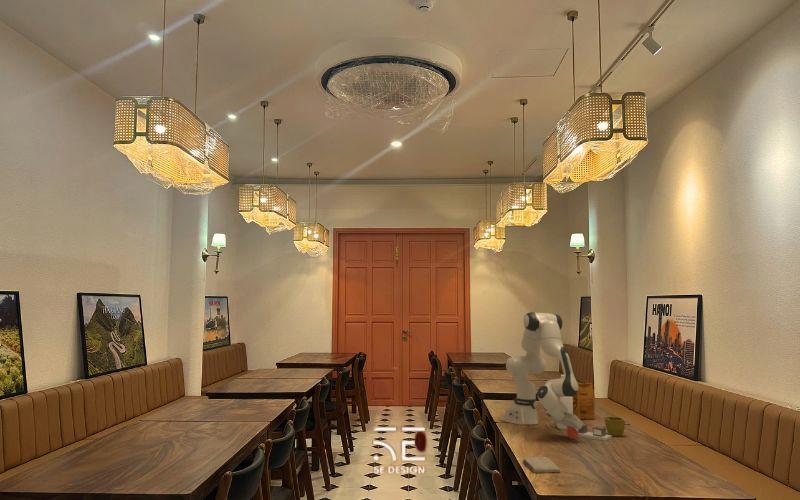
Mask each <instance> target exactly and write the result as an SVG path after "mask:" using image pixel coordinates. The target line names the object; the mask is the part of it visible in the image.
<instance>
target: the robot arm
mask: <svg viewBox="0 0 800 500" xmlns="http://www.w3.org/2000/svg"><path fill="white" fill-rule="evenodd" d="M523 325H524V331H523V336H522V339H521V344H520V345H521V348H522V350H523V351H524V352H526V354H525V355H516V356H513V357H509V358H508V359H507V360H506V363H505V369H506V370H507V372H508V374H510V376H512V377H513V380H514V381H515V386H516V397H514V398H513V399H512V402H514V403H513V404H511V405H510V406H508V407H507V408H506V409H505V411H504V416H502V417H501V418H500V421H501V422H507V423H510V424H515V425H520V426H522V425H537V424H539V423H540V421H539V418H538V413H537V407H538V406H537V405H538V404H537V403H538V402H537V399H538V400H539V402H540V403H541V405H542V406H543V407H544V409H546V411H545V415H547V417H549V418H550V419H551V420H552V421H553V422H554V423H556V424H557V423H560V424H563V425H565V426H566V427H567V426H571V427H574V430H575V431H578V430H579V429H580V428H581V427H582V426H583V424H584V422H583V421H582V419H581V420H580V419H579V418H578V417H577V416H576V415H574V414H570V413H568V409H567V407H566V406H565V405H564V404H563V402H562V401H560V397H573V396H575V395H576V394H577V392H578V390H579V385H578V383H579V382H578V380H577V378H576V375H575V370H574V367H573V363H572V358H571V355H570V352H569V350H568V349H567V348H566V347H565V346H564V344H563V340H562V333H561V332H562V331H561V329H562V328H563V319H562V317H561V315H558V314H557V313H549V312H534V311H532V312H527V313H526V314H525V316H524V317H523ZM541 350H542V351H543V353H544V354H545V355H547V356H549V357H552V358H555V359H558V360H559V361H560V365H561V368H562V372H563V375H564V377H563V378H561V377H560V378H553V379H547V380H546V382H545V383H544V385H542V386H540V387H539V388H538V389H536V384H535V383H534V382H532V381H531V380H530V379H529V375H537V374H541V373H544V372H545V370H546V367H547V364H546V360H545V359H544V358H543V357H542V354H541Z"/></svg>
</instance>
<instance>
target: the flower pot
mask: <svg viewBox="0 0 800 500" xmlns="http://www.w3.org/2000/svg"><path fill="white" fill-rule="evenodd" d="M604 423H605V427H606V431H607V433H608V435H612V437H621V436H623V433H624V431H625V427H626V420H625V419H624V418H622V417H620V416H604Z"/></svg>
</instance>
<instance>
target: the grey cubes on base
mask: <svg viewBox="0 0 800 500" xmlns="http://www.w3.org/2000/svg"><path fill="white" fill-rule="evenodd" d="M606 431H607V428H606V426H605V427H604V426H600V425H599V426H598V425H596V426H593V427H592V432H591V431H588V424H585V423H583V426H582V427H581V428H580V429H579V430H578V433H579V437H580V438H586V439H592V440H598V441H604V442H607V441H609V440H611V439H613V438H612V437H613V436H612V435H610V434H607V432H606Z"/></svg>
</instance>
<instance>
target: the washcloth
mask: <svg viewBox="0 0 800 500" xmlns="http://www.w3.org/2000/svg"><path fill="white" fill-rule="evenodd" d="M522 462H523V463H524V465H525V466H526V467H527V468H528V469H529V470H530V469H531V470H532V471H531V470H530V471H531V473H533V472H534V474H543V473H542V472H560V473H561V469H560V468H559V466H558V465H556V464H555V463H554V462H553V461H552V460H551V459H550V458H549V457H546V456H541V457H538V456H537V457H535V456H524V457H523V460H522Z"/></svg>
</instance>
